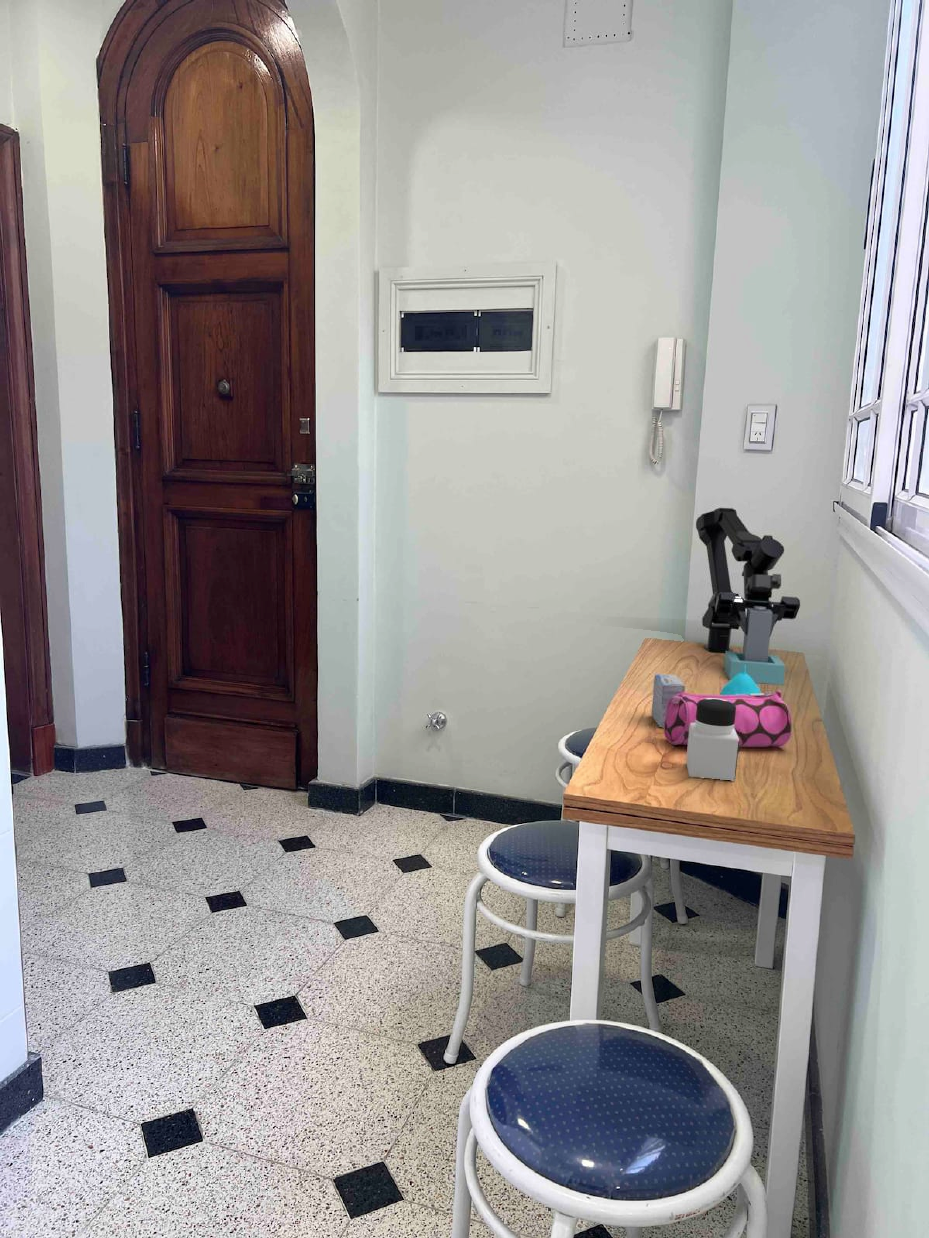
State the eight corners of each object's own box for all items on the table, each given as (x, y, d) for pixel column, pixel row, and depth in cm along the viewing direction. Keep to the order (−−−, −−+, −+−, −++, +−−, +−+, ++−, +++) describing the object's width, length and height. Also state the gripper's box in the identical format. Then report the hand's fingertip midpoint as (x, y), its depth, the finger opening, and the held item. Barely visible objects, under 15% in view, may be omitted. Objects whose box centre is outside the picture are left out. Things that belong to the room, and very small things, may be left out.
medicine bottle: (735, 782, 139) (743, 709, 137) (688, 777, 140) (695, 704, 138) (729, 767, 146) (737, 697, 144) (685, 762, 147) (692, 693, 145)
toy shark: (720, 728, 168) (726, 673, 166) (708, 702, 185) (713, 653, 183) (774, 732, 166) (780, 677, 164) (756, 706, 184) (761, 656, 182)
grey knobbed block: (742, 657, 212) (747, 604, 210) (763, 659, 212) (769, 605, 209) (744, 662, 208) (750, 607, 205) (766, 664, 207) (773, 609, 204)
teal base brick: (723, 668, 217) (725, 650, 216) (774, 672, 215) (776, 654, 214) (729, 680, 205) (731, 661, 205) (783, 684, 204) (785, 665, 203)
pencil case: (764, 735, 165) (770, 683, 163) (792, 752, 156) (798, 697, 154) (656, 737, 161) (661, 683, 159) (679, 754, 152) (684, 698, 150)
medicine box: (682, 729, 166) (686, 684, 164) (658, 728, 166) (662, 683, 164) (673, 717, 174) (677, 674, 172) (650, 716, 174) (654, 673, 172)
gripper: (721, 558, 211) (722, 611, 202) (803, 563, 208) (807, 618, 199) (715, 586, 220) (715, 638, 211) (793, 591, 217) (796, 644, 208)
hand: (758, 634), depth 207 cm, fingers closed on grey knobbed block, 5 cm apart
